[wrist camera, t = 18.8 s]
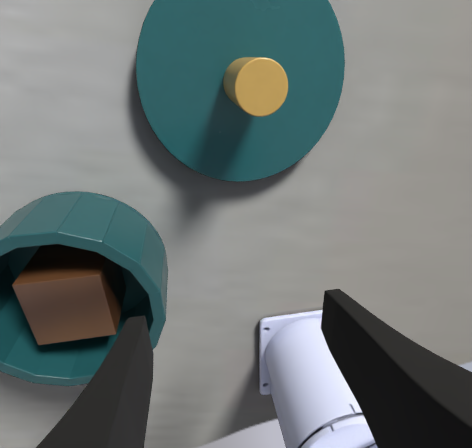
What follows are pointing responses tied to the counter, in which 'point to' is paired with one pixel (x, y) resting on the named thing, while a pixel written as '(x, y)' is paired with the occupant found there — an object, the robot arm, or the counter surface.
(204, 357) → the counter surface
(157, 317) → the tin
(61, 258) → the block
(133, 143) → the counter surface
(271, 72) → the tin lid
